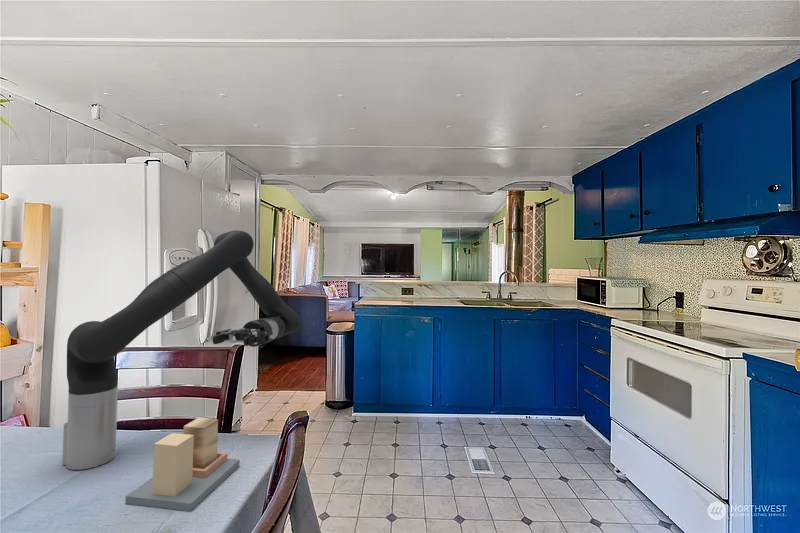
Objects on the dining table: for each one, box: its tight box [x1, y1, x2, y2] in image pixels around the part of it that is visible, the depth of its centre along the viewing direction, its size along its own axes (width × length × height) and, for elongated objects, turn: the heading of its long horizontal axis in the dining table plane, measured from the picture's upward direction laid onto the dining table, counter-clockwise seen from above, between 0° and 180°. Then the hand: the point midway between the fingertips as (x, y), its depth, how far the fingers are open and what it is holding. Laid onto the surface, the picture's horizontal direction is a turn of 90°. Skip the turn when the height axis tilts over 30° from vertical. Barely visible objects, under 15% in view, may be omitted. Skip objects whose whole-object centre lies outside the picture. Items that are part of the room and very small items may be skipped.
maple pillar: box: [182, 417, 219, 469], centre depth 85 cm, size 5×5×10 cm
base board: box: [125, 432, 241, 512], centre depth 81 cm, size 14×17×12 cm
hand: (229, 341), depth 97 cm, fingers open, 8 cm apart
